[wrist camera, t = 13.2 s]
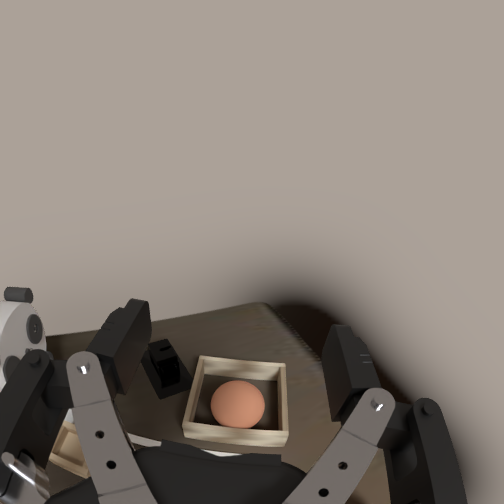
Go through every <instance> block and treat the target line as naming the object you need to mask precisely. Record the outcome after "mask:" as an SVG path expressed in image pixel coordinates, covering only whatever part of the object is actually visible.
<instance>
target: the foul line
mask: <svg viewBox="0 0 504 504" xmlns="http://www.w3.org/2000/svg"><path fill="white" fill-rule="evenodd" d="M127 434H128V436H129V438H130V440H131V442H132V443H136V444H139V445H143V446H147V447H151V446H160V445H161V442H160V441H155V440H151V439H147V438H143V437H139V436H136V435H132V434H129V433H127ZM201 450H202V449H201ZM204 451H206V452H209V453H212V454H214V455H217V456H232V455H241V454H234V453H224V452H216V451H208V450H204Z"/></svg>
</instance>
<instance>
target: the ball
mask: <svg viewBox="0 0 504 504" xmlns="http://www.w3.org/2000/svg"><path fill="white" fill-rule="evenodd" d="M264 408H265V404H264V399H263V396H262V394H261V392H260V391H259V390H258V389H257V388H256V387H255V386H254V385H252V384H250V383H248V382H245V381H238V380H236V381H230V382H227V383H225V384H223V385H221V386H220V387H219V388H218V389H217V390H216V391H215V393H214V394H213V397H212V400H211V410H212V413H213V416H214V418H215V419H216V420H217V421H218V422H219V423H220V424H221V425H222V426H224V427H231V428H241V429H248V428H250V427H252V426H254V425H255V424H256V423H258V421H259V420H260V419H261V417H262V415H263V413H264Z"/></svg>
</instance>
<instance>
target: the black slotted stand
mask: <svg viewBox="0 0 504 504" xmlns="http://www.w3.org/2000/svg"><path fill="white" fill-rule="evenodd" d="M141 363H142V365H143V367H144V369H145V371H146V373H147V375H148V378H149V380H150V382H151V384H152V386H153V387H154V389H155V391H156V393H157V395H158V397H159V399H163V398H166V397H169V396H172V395H175V394H177V393H180V392H183V391H186V390H188V389H191V388H192V384H193V379H192V377H191V376H190V374H189V373H188V371H187V369H186V368H185V366H184V365H183V363H182V362H181V360H180V358H179V357H178V355H177V354H176V352H175V350H174V349H173V347H172V345H171V344H170V343H169V341H168V339H164V340H160V341H157V342H153V343H150V344H148V350H147V351H145V352H144V354H143V357H142V359H141Z"/></svg>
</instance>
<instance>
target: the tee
mask: <svg viewBox="0 0 504 504" xmlns="http://www.w3.org/2000/svg"><path fill="white" fill-rule="evenodd" d="M49 460H50V461H51V462H52V463H54V464H56V465H58V466H60V467H62V468H64V469H66V470H68V471H70V472H72V473H74V474H76V475H79V476H81V477H83V478H85V479H86V478H88V477H90V476H91V475H90V472H89V469H88V466H87V464H86V461H85V458H84V455H83V452H82V448H81V445H80V442H79V438H78V435H77V431H76V428H75V424H72V423H70V422H68V421H65V420H64V421H63V424H62V426H61V429H60V431H59V433H58V436H57V438H56V441H55V443H54V446H53V449H52V451H51V454H50V457H49Z"/></svg>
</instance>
